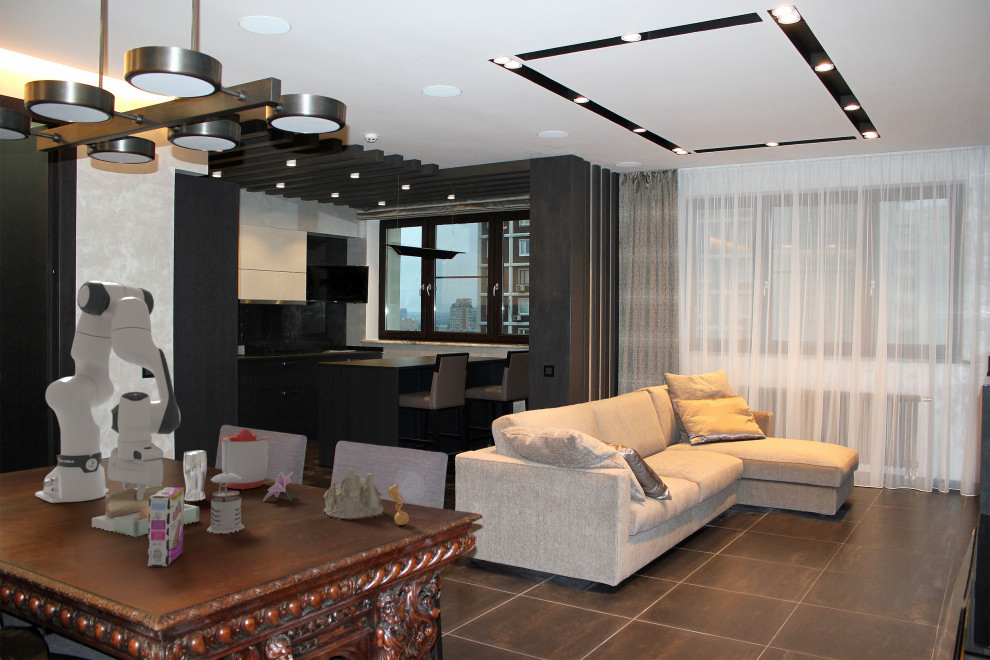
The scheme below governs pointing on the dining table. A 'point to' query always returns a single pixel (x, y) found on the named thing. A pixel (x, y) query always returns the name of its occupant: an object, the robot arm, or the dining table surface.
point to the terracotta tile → (144, 513)
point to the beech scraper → (128, 501)
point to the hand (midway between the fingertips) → (134, 498)
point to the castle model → (353, 497)
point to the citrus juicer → (245, 459)
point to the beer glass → (195, 474)
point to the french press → (226, 504)
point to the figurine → (401, 516)
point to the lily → (279, 485)
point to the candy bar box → (165, 526)
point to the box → (142, 525)
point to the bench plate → (112, 520)
